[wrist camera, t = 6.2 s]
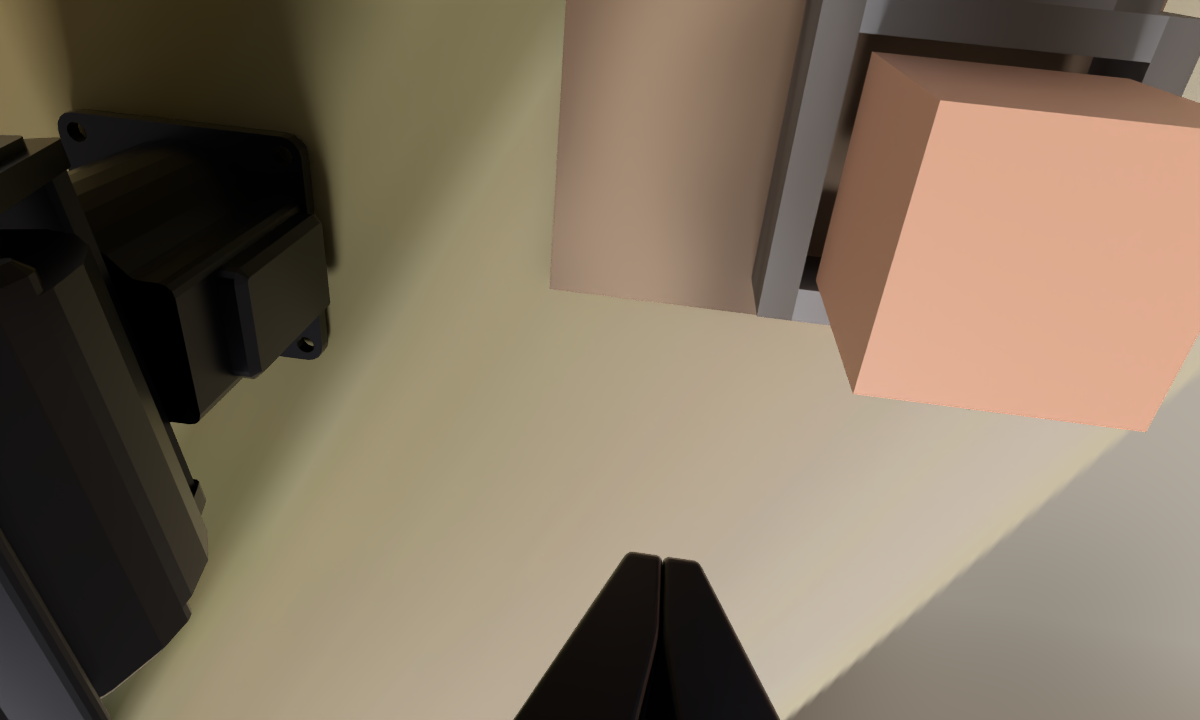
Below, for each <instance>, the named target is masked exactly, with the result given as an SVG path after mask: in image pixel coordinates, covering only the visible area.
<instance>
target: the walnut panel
mask: <svg viewBox="0 0 1200 720" xmlns="http://www.w3.org/2000/svg"><path fill="white" fill-rule="evenodd" d="M1166 2H1167V0H566V13H565V30H564V48H563V66H562V83H561V101H560V118H559V136H558V153H557V171H556V189H555V206H554V224H553V241H552V259H551V276H550V289H555V290H563V291H571V292H579V293H587V294H595V295H603V296H611V297H618V298H626V299H634V300H642V301H650V302H658V303H666V304H674V305H682V306H690V307H698V308H706V309H714V310H722V311H730V312H738V313H746V314H754V315H757V316H759V317H767V318H775V319H783V320H791V321H799V322H807V323H815V324H823V325H830V322H829V319H828V316H827V313H826V310H825V307H824V304H823V301H822V298H821V295H820V292H819V289H818V286H817V283H816V277H817V273H818V269H819V265H820V261H821V257H822V253H823V249H824V245H825V241H826V237H827V233H828V229H829V225H830V221H831V216H832V212H833V208H834V204H835V200H836V196H837V192H838V188H839V184H840V180H841V176H842V172H843V168H844V164H845V160H846V156H847V151H848V147H849V143H850V139H851V135H852V131H853V127H854V123H855V119H856V115H857V111H858V107H859V103H860V99H861V95H862V91H863V86H864V82H865V78H866V74H867V70H868V66H869V62H870V58H871V54H872V52H881V53H891V54H900V55H910V56H919V57H929V58H938V59H948V60H957V61H967V62H976V63H986V64H995V65H1004V66H1014V67H1023V68H1033V69H1042V70H1052V71H1061V72H1071V73H1080V74H1090V75H1099V76H1109V77H1118V78H1128V79H1132V80H1135V81H1138V82H1140V83H1143V84H1146V85H1149V86H1152V87H1155V88H1157V89H1160V90H1163V91H1166V92H1169V93H1172V94H1175V95H1177V96H1180V97H1181V96H1182V94H1183V92H1184V90H1185V87H1186V85H1187V83H1188V81H1189V79H1190V76H1191V74H1192V72H1193V70H1194V67H1195V65H1196V63H1197V61H1198V58H1199V56H1200V18H1196V17H1191V16H1185V15H1180V14H1174V13H1169V12H1163V10H1164V7H1165V5H1166Z"/></svg>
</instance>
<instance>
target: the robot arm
mask: <svg viewBox="0 0 1200 720" xmlns="http://www.w3.org/2000/svg"><path fill="white" fill-rule="evenodd" d="M78 123H79V124H80V125H81V126H82V127H83V128H84V130H85V132H86V137H85V136H84V135H83V134H81V133H80V131H79V128H78ZM58 131H59V134H60V138H61V139H60V138H33V139H23V137H22V136H17V135H0V720H111V717H110V715H109V713H108V712H107V710H106V708H105V706H104V705H103V703H102V701H101V700H100V699H102V698H103V697H105V696H106V695H108V694H110V693H111V692H113V691H114V690H115V689H116V688H117V687H119V686H120V685H121V684H122V683H124V682H125V681H126V680H127V679H129V678H130V677H131V676H132V675H133V674H135V673H136V672H137V671H138V670H140V669H141V668H142V667H143V666H144V665H146V664H147V663H148V662H149V661H151V660H152V659H153V658H154V657H155V656H157V655H158V654H159V653H160V652H161V651H162V650H163V649H164V647H165V646H166V645H167V644H168V643H169V642H170V641H171V640H172V638H173V637H174V636H175V635H176V634H177V633H178V632H179V631H180V629H181V628H182V627H183V626H184V625H185V624H186V623H187V622H188V620H189V618H190V616H191V608H190V606H189V603H188V600H189V599H190V597H191V596H192V594H193V592H194V590H195V587H196V585H197V583H198V581H199V579H200V576H201V574H202V572H203V570H204V567H205V565H206V563H207V561H208V537H207V529H206V527H205V524H204V522H203V519H202V517H201V515H202V511H203V508H204V505H205V502H206V498H205V495H204V493H203V491H202V488H201V486H200V483H199V481H198V480H195V479H193V478H192V476H191V474H190V471H189V469H188V466H187V464H186V461H185V459H184V456H183V454H182V452H181V449H180V447H179V444H178V442H177V439H176V437H175V434H174V432H173V429H172V427H171V425H170V422H177V423H184V424H196V423H197V422H198V421H199V420H200V419H201V418H202V417H203V416H204V415H205V414H206V413H208V412H209V411H210V410H211V409H212V408H213V407H214V406H215V405H216V404H217V403H218V402H219V401H220V400H221V399H222V398H223V397H224V396H225V395H226V394H227V393H228V392H229V391H230V390H231V389H232V388H233V387H234V386H235V385H236V384H237V383H238V382H239V381H240V380H241V379H242V378H250V379H255V378H257V377H258V376H259V375H260V374H262V373H263V372H264V371H265V370H266V369H267V368H268V367H269V366H270V365H271V364H272V363H273V362H274V361H275V360H276V359H277V358H278V357H279V356H283V357H291V358H298V359H306V360H311V359H315V358H317V357H319V356H320V355H321V354H322V352H323V351H324V350H325V349H326V347H327V345H328V336H327V326H326V317H325V309H326V308H327V307H328V306H329V304H330V297H329V287H328V277H327V267H326V258H325V248H324V238H323V228H322V223H321V222H320V220H319V219H318V218H317V216H316V215H315V213H314V204H313V195H312V185H311V176H310V166H309V157H308V152H307V149H306V146H305V145H304V143H303V142H302V141H301V140H300V139H299V138H298V137H296V136H295V135H292V134H289V133H284V132H276V131H267V130H258V129H250V128H241V127H233V126H224V125H215V124H207V123H198V122H190V121H181V120H173V119H164V118H155V117H147V116H138V115H130V114H121V113H112V112H104V111H95V110H87V109H78V110H73V111H70V112H66V113H64V114H63V115H61V116H60V118H59V120H58ZM281 146H282V147H285V148H287V149H288V150H289V152H290V153H291V156H292V162H289V161H286V160H285V159H284V158H283V157H282V156H281V153H280V147H281ZM67 169H69V171H68V172H67ZM303 337H306V338H309V339H310V340H311V341H312V342H313V344H314V346H311V345H308V344H307V343H306V342H305V341H304V338H303ZM514 720H780V718H779V716H778V715H777V713H776V711H775V709H774V707H773V705H772V703H771V701H770V699H769V697H768V695H767V693H766V691H765V689H764V687H763V685H762V683H761V682H760V680H759V678H758V676H757V674H756V672H755V670H754V668H753V666H752V664H751V662H750V660H749V658H748V656H747V654H746V652H745V650H744V649H743V647H742V645H741V643H740V641H739V639H738V637H737V635H736V633H735V631H734V629H733V627H732V625H731V623H730V621H729V619H728V617H727V616H726V614H725V612H724V610H723V608H722V606H721V604H720V602H719V600H718V598H717V596H716V594H715V592H714V590H713V588H712V586H711V584H710V583H709V581H708V579H707V577H706V575H705V573H704V571H703V569H702V567H701V566H700V564H699V563H698V562H696V561H692V560H686V559H679V558H672V557H667V558H665V559H664V560H663V563H662V559H661V558H660V557H659V556H657V555H651V554H644V553H637V552H629V553H627V554H626V555H625V556H624V558H623V559H622V560H621V562H620V563H619V565H618V566H617V568H616V569H615V571H614V572H613V574H612V575H611V577H610V578H609V580H608V581H607V583H606V584H605V586H604V587H603V589H602V590H601V591H600V593H599V594H598V596H597V597H596V599H595V600H594V602H593V603H592V605H591V606H590V608H589V609H588V611H587V612H586V614H585V615H584V617H583V618H582V619H581V621H580V622H579V624H578V625H577V627H576V628H575V630H574V631H573V633H572V634H571V636H570V637H569V639H568V640H567V642H566V643H565V645H564V646H563V648H562V649H561V650H560V652H559V653H558V655H557V656H556V658H555V659H554V661H553V662H552V664H551V665H550V667H549V668H548V670H547V671H546V673H545V674H544V676H543V677H542V678H541V680H540V681H539V683H538V684H537V686H536V687H535V689H534V690H533V692H532V693H531V695H530V696H529V698H528V699H527V701H526V702H525V704H524V705H523V706H522V708H521V709H520V711H519V712H518V714H517V715H516V717H515V718H514Z"/></svg>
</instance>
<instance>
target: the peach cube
mask: <svg viewBox="0 0 1200 720" xmlns="http://www.w3.org/2000/svg"><path fill="white" fill-rule="evenodd" d="M816 283H817V286H818V289H819V292H820V295H821V298H822V301H823V304H824V307H825V310H826V313H827V316H828V319H829V322H830V325H831V328H832V331H833V334H834V337H835V340H836V343H837V346H838V349H839V352H840V355H841V359H842V362H843V365H844V368H845V371H846V374H847V377H848V380H849V383H850V386H851V389H852V392H853V394H858V395H866V396H873V397H881V398H889V399H896V400H904V401H912V402H919V403H927V404H935V405H942V406H950V407H958V408H965V409H973V410H981V411H988V412H996V413H1004V414H1011V415H1019V416H1027V417H1034V418H1042V419H1050V420H1057V421H1065V422H1072V423H1080V424H1088V425H1095V426H1103V427H1111V428H1118V429H1126V430H1134V431H1141V432H1146V431H1147V429H1148V427H1149V426H1150V424H1151V422H1152V420H1153V418H1154V416H1155V415H1156V413H1157V411H1158V409H1159V407H1160V405H1161V404H1162V402H1163V400H1164V398H1165V396H1166V394H1167V392H1168V391H1169V389H1170V387H1171V385H1172V383H1173V381H1174V379H1175V378H1176V376H1177V374H1178V372H1179V370H1180V368H1181V366H1182V365H1183V363H1184V361H1185V359H1186V357H1187V355H1188V354H1189V352H1190V350H1191V348H1192V346H1193V344H1194V342H1195V341H1196V339H1197V337H1198V335H1199V333H1200V103H1197V102H1195V101H1192V100H1189V99H1186V98H1183V97H1180V96H1177V95H1175V94H1172V93H1169V92H1166V91H1163V90H1160V89H1157V88H1155V87H1152V86H1149V85H1146V84H1143V83H1140V82H1138V81H1135V80H1132V79H1128V78H1118V77H1109V76H1099V75H1090V74H1080V73H1071V72H1061V71H1052V70H1042V69H1033V68H1023V67H1014V66H1004V65H995V64H986V63H976V62H967V61H957V60H948V59H938V58H929V57H919V56H910V55H900V54H891V53H881V52H872V54H871V58H870V62H869V66H868V70H867V74H866V78H865V82H864V86H863V91H862V95H861V99H860V103H859V107H858V111H857V115H856V119H855V123H854V127H853V131H852V135H851V139H850V143H849V147H848V151H847V156H846V160H845V164H844V168H843V172H842V176H841V180H840V184H839V188H838V192H837V196H836V200H835V204H834V208H833V212H832V216H831V221H830V225H829V229H828V233H827V237H826V241H825V245H824V249H823V253H822V257H821V261H820V265H819V269H818V273H817V277H816Z"/></svg>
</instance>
